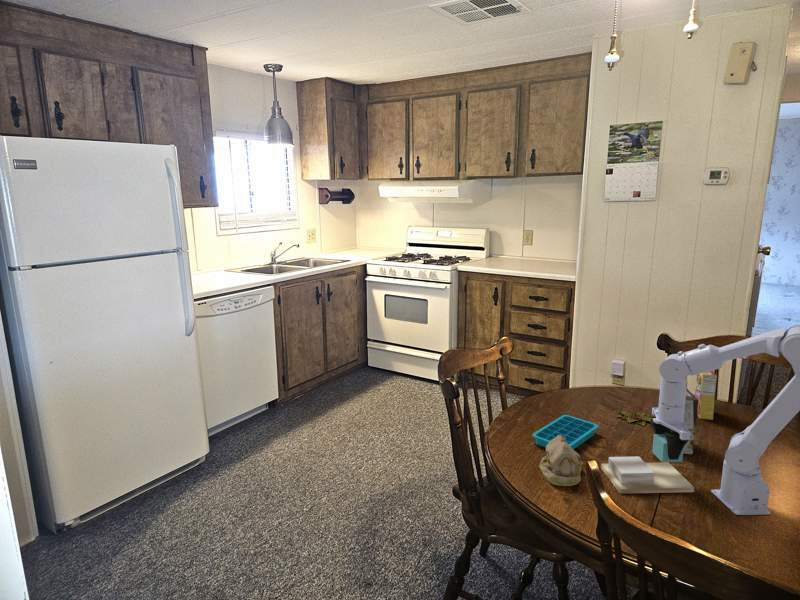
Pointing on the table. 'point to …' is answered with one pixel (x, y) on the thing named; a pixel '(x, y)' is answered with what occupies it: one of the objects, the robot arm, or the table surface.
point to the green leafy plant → (635, 415)
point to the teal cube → (663, 449)
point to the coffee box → (690, 419)
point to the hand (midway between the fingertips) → (667, 453)
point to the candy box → (705, 394)
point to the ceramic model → (561, 463)
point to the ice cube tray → (566, 431)
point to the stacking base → (660, 480)
